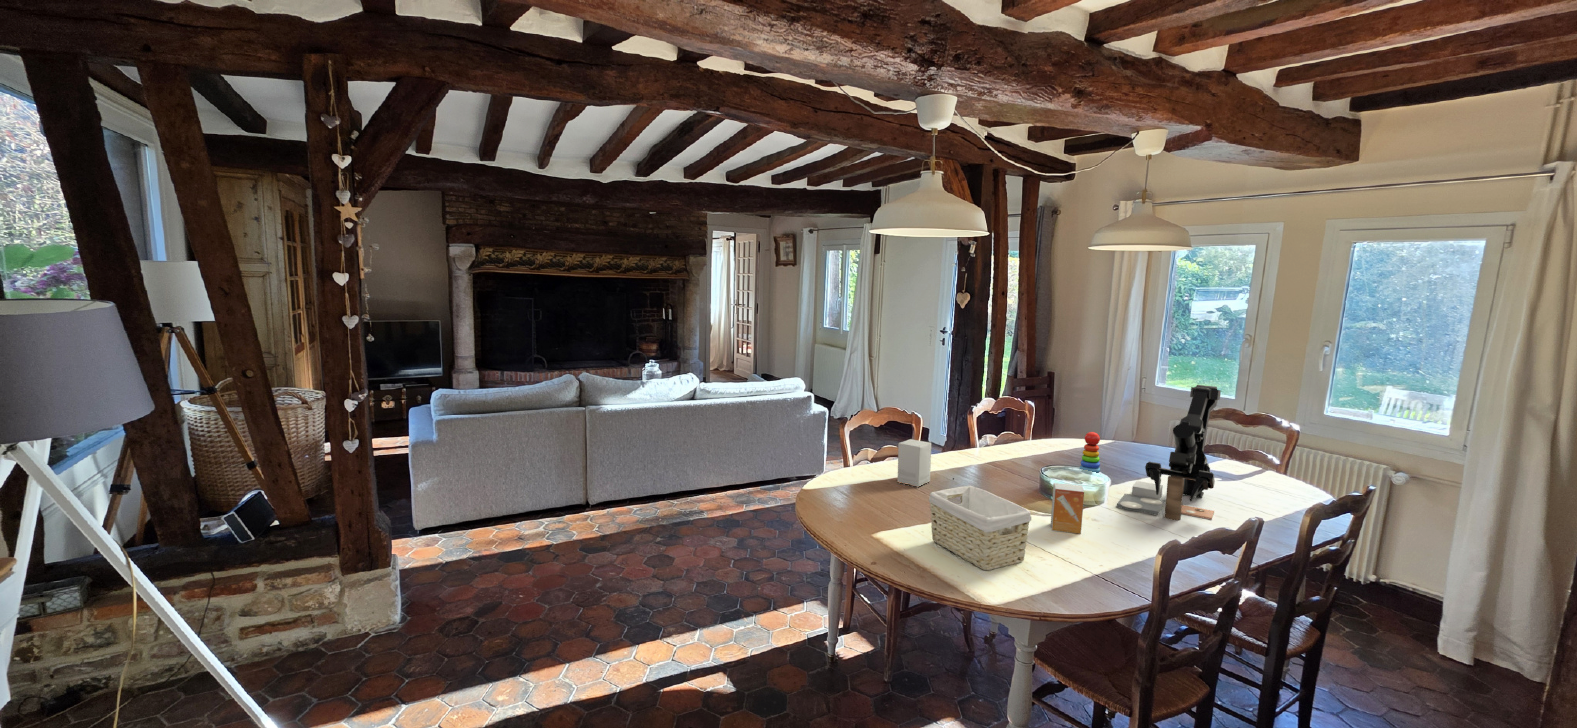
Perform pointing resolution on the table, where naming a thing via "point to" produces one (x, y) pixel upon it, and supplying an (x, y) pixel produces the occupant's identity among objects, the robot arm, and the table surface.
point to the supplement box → (914, 462)
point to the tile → (1197, 512)
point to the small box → (1067, 508)
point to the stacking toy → (1091, 453)
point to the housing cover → (1146, 490)
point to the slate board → (1140, 504)
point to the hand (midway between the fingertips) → (1173, 497)
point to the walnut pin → (1174, 497)
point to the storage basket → (980, 526)
